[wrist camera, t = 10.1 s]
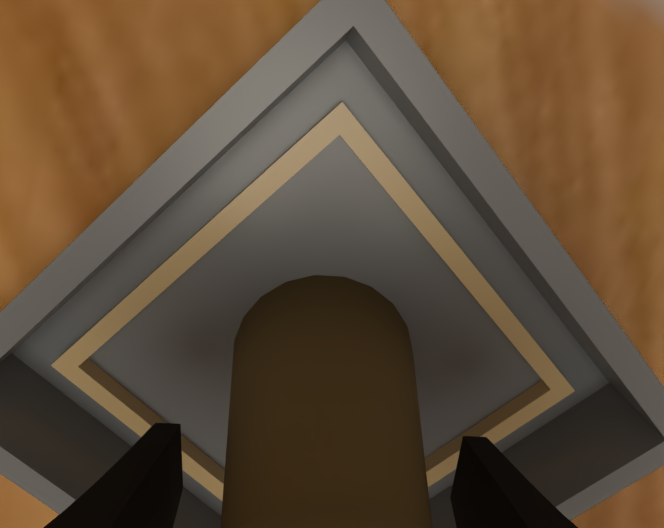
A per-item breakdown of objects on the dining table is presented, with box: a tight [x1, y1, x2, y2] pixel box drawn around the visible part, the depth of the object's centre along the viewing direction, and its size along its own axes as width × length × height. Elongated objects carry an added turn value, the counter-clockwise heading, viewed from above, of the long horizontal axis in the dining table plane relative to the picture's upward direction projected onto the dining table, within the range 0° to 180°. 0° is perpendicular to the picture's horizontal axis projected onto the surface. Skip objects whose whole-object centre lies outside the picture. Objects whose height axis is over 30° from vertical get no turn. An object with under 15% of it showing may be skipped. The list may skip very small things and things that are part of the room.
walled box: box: [0, 0, 664, 528], centre depth 15 cm, size 16×16×4 cm
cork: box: [221, 275, 433, 528], centre depth 11 cm, size 6×6×11 cm
